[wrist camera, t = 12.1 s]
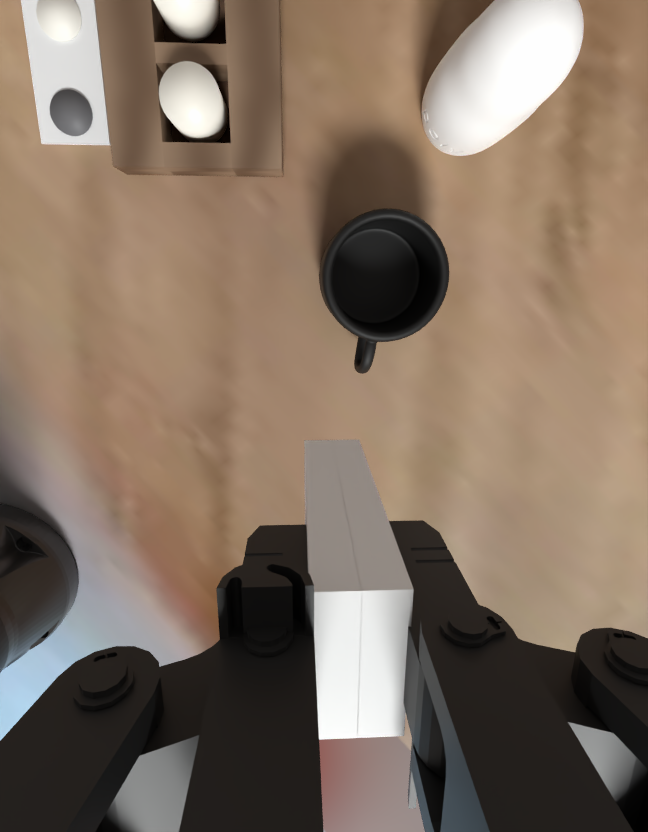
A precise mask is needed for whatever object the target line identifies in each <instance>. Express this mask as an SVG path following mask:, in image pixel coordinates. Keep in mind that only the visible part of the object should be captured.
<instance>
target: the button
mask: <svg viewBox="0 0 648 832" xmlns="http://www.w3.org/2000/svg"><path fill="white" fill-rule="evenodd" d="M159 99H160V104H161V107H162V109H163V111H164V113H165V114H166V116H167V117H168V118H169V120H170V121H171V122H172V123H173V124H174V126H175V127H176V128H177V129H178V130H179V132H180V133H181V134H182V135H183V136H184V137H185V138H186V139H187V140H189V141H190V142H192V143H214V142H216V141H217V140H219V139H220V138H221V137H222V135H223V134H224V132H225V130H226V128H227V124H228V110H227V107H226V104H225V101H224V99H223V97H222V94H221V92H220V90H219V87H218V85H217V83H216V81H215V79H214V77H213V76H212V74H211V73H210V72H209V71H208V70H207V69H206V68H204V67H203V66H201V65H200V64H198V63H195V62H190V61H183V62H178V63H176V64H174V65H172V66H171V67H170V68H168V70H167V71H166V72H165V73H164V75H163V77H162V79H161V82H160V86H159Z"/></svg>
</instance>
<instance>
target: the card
mask: <svg viewBox="0 0 648 832" xmlns="http://www.w3.org/2000/svg"><path fill="white" fill-rule="evenodd" d="M21 4H22V11H23V18H24V25H25V32H26V39H27V46H28V53H29V60H30V67H31V73H32V80H33V87H34V94H35V101H36V108H37V115H38V122H39V129H40V136H41V143H42V144H61V145H111V142H110V133H109V123H108V114H107V105H106V95H105V86H104V77H103V67H102V58H101V49H100V39H99V30H98V21H97V12H96V2H95V0H21Z"/></svg>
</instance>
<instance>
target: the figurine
mask: <svg viewBox="0 0 648 832" xmlns="http://www.w3.org/2000/svg"><path fill="white" fill-rule="evenodd" d="M583 28H584V25H583V14H582V9H581V6H580V3H579V1H578V0H494V1H493V2H492V3H491V4H490V5H489V6H488V7H487V8H486V10H485V11H484V12H483V13H482V14H481V15H480V16H479V17H478V18H477V19H476V20H475V21H474V22H472V23H471V24H470V25H469V26H468V27H467V28H466V30H465V31H464V32H463V33H462V34H461V35H460V36H459V38H458V39H457V40H456V41H455V43H454V44H453V45H452V47H451V48H450V49H449V50H448V52H447V53H446V54H445V56H444V57H443V59H442V60H441V61H440V63H439V64H438V66H437V67H436V69H435V70H434V72H433V74H432V76H431V78H430V80H429V82H428V84H427V87H426V89H425V93H424V96H423V101H422V123H423V127H424V131H425V133H426V135H427V137H428V139H429V140H430V142H431V143H432V144H433V145H434V146H435V147H436V148H437V149H439V150H440V151H442V152H444V153H447V154H450V155H456V156H465V155H471V154H475V153H478V152H480V151H483V150H485V149H487V148H488V147H490V146H492V145H493V144H495V143H496V142H498V141H499V140H501V139H502V138H503V137H505V136H506V135H507V134H509V133H510V132H511V131H513V130H514V129H515V128H517V127H518V126H519V125H520V124H521V123H523V122H524V121H525V120H526V119H527V118H528V117H529V116H530V115H531V114H532V113H533V112H534V111H535V110H536V109H537V108H538V107H539V105H540V104H541V103H543V102H544V101H545V100H546V99H547V98H548V97H549V96H550V95H551V94H552V93H553V92H554V91H555V90H556V89H557V88H558V87H559V86H560V84H561V83H562V82H563V81H564V79H565V78H566V76H567V75H568V73H569V72H570V70H571V68H572V67H573V65H574V63H575V61H576V59H577V56H578V54H579V51H580V48H581V44H582V39H583Z"/></svg>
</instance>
